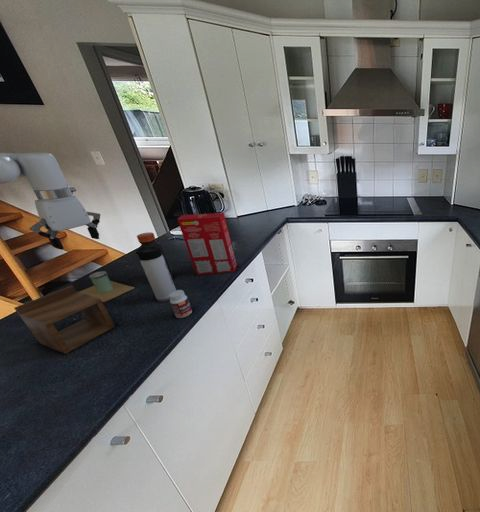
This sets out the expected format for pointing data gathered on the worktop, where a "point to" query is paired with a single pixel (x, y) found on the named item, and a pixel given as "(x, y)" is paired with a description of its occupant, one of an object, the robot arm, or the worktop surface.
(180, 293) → the pill bottle
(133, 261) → the worktop surface
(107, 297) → the cork mat
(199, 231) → the food packaging
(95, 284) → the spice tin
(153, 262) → the travel mug
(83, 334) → the shelf unit
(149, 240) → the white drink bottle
